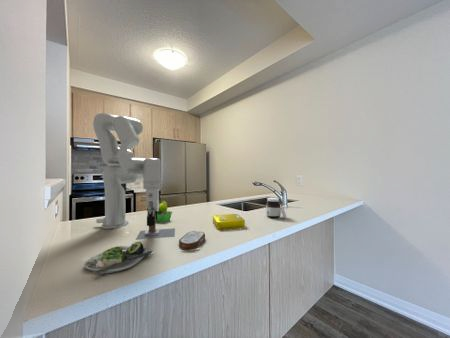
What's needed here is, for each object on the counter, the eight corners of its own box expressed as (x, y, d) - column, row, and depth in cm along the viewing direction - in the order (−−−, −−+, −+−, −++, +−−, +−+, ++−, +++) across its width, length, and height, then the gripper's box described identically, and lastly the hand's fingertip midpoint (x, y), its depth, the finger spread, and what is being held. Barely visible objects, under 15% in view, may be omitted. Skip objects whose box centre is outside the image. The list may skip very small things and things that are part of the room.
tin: (174, 249, 75) (195, 252, 73) (175, 240, 75) (196, 244, 73) (189, 235, 90) (207, 238, 88) (190, 228, 90) (208, 231, 88)
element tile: (245, 228, 102) (245, 219, 102) (217, 231, 98) (217, 221, 98) (237, 220, 116) (237, 212, 116) (212, 222, 113) (212, 214, 113)
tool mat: (135, 241, 83) (135, 239, 83) (140, 231, 95) (140, 230, 95) (174, 237, 87) (174, 236, 87) (175, 229, 99) (175, 228, 99)
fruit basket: (147, 222, 112) (147, 202, 112) (157, 218, 120) (157, 199, 120) (165, 224, 109) (165, 203, 108) (174, 219, 117) (174, 200, 117)
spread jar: (264, 215, 128) (264, 197, 128) (281, 214, 129) (281, 197, 129) (271, 220, 116) (271, 200, 116) (289, 219, 117) (289, 200, 117)
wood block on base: (144, 236, 88) (144, 215, 87) (146, 232, 92) (146, 212, 92) (158, 235, 89) (158, 214, 89) (159, 231, 94) (159, 212, 94)
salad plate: (120, 283, 54) (120, 266, 54) (65, 277, 57) (65, 261, 57) (157, 253, 73) (157, 240, 73) (114, 249, 76) (114, 237, 76)
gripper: (159, 186, 83) (159, 227, 83) (162, 183, 100) (162, 217, 100) (139, 187, 81) (140, 228, 81) (146, 183, 98) (146, 218, 98)
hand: (152, 222), depth 91 cm, fingers open, 9 cm apart
